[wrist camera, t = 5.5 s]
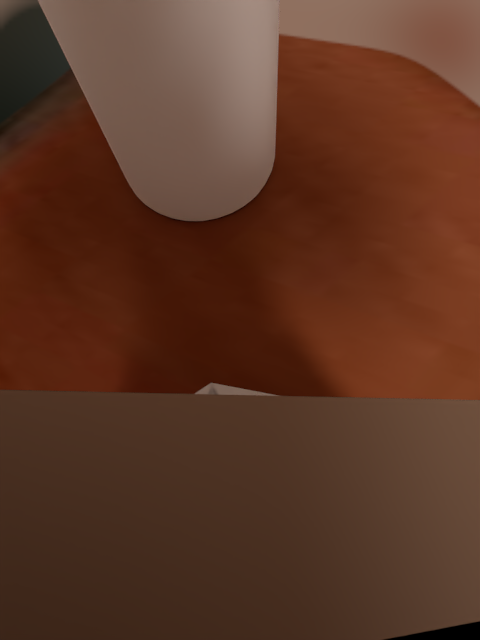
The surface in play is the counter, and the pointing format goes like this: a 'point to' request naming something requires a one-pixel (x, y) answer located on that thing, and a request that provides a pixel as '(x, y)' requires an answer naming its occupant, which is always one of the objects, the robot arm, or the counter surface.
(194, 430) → the walnut block
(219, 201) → the bottle
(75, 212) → the counter surface
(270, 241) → the counter surface
